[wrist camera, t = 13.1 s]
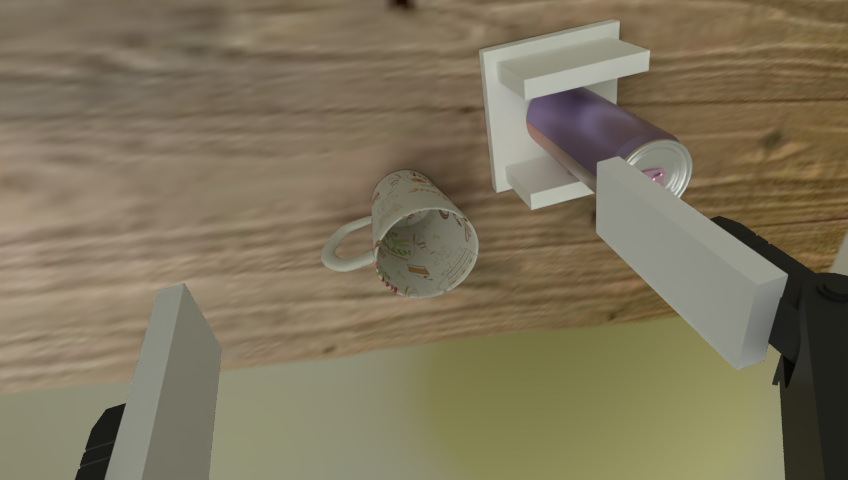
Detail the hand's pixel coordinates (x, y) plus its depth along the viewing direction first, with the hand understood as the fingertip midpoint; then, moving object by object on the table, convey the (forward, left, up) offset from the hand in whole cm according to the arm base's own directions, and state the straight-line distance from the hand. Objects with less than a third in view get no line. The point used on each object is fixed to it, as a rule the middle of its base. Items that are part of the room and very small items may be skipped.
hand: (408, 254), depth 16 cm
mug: (+12, -7, -30) cm, 33 cm away
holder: (+17, +10, -30) cm, 35 cm away
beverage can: (+17, +10, -29) cm, 35 cm away
